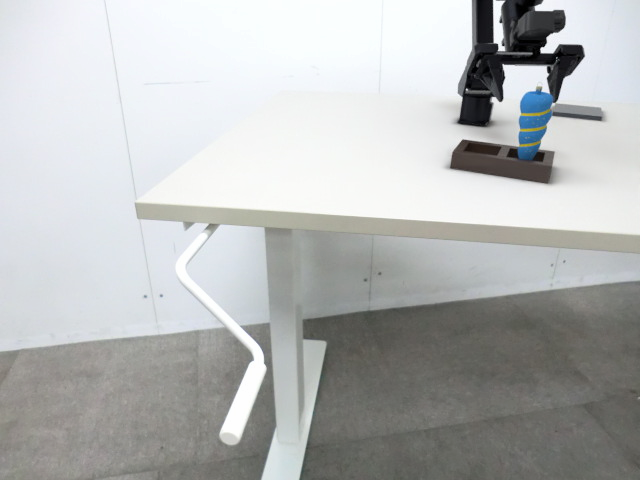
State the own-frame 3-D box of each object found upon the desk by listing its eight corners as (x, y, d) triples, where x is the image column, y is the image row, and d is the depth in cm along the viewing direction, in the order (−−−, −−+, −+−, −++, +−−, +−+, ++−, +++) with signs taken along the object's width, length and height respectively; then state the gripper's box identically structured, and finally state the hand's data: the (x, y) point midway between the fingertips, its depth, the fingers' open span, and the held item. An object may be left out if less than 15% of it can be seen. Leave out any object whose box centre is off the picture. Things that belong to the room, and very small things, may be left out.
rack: (548, 183, 79) (552, 166, 78) (449, 168, 85) (452, 151, 84) (550, 167, 86) (554, 151, 85) (460, 154, 92) (462, 139, 91)
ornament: (535, 178, 81) (556, 86, 74) (503, 172, 84) (521, 83, 77) (540, 169, 85) (561, 81, 78) (510, 164, 88) (528, 78, 81)
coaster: (552, 115, 121) (553, 111, 121) (554, 106, 130) (555, 103, 130) (601, 120, 117) (602, 116, 117) (600, 111, 126) (601, 107, 125)
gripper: (481, -10, 80) (488, 70, 75) (595, -9, 79) (609, 72, 75) (463, 37, 90) (468, 110, 86) (563, 39, 90) (574, 112, 85)
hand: (528, 101), depth 83 cm, fingers open, 9 cm apart
